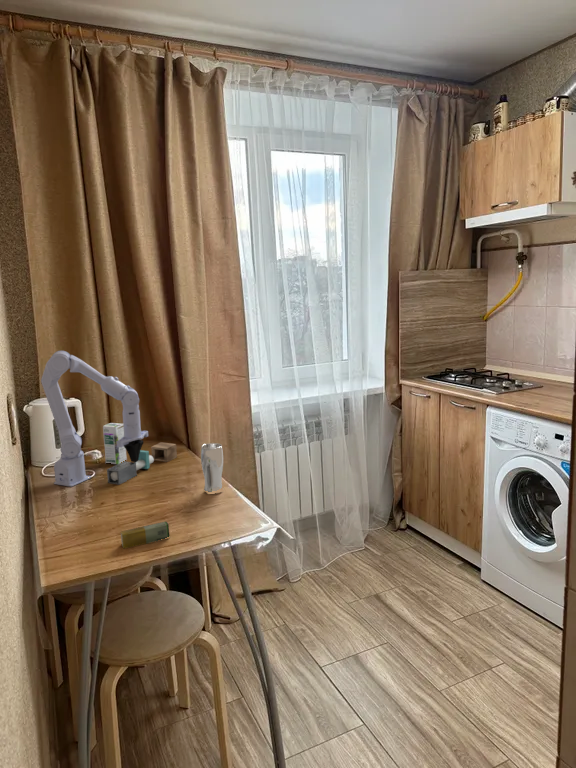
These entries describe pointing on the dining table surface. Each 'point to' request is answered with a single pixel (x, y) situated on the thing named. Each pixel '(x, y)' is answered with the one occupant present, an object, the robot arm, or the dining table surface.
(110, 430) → the syrup box
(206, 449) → the beer glass
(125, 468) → the sleeve
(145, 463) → the slip tube
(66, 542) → the dining table surface
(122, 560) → the dining table surface
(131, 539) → the medication box
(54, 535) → the dining table surface
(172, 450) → the socket block
